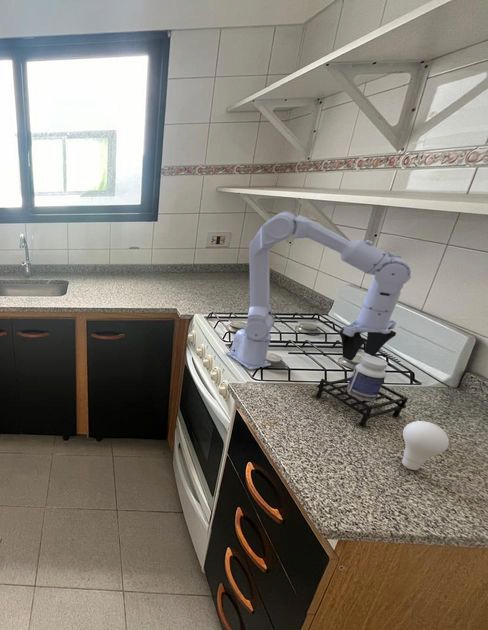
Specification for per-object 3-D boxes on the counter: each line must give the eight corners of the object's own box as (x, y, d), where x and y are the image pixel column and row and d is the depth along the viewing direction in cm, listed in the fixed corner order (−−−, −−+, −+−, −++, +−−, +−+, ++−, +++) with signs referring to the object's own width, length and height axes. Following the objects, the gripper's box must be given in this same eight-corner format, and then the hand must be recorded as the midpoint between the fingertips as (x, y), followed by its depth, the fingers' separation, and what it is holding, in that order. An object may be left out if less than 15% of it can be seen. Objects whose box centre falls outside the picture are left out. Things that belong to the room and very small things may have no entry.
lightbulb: (388, 451, 73) (408, 410, 68) (427, 466, 69) (452, 423, 65) (388, 469, 69) (410, 426, 64) (431, 486, 65) (457, 442, 61)
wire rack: (313, 395, 90) (319, 378, 88) (348, 387, 93) (354, 370, 91) (363, 428, 79) (372, 409, 77) (400, 417, 82) (410, 398, 80)
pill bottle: (381, 402, 82) (397, 366, 78) (357, 402, 82) (372, 366, 78) (363, 388, 87) (377, 353, 83) (340, 387, 87) (353, 353, 83)
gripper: (373, 317, 77) (352, 369, 83) (418, 310, 81) (395, 359, 87) (342, 306, 84) (325, 354, 89) (385, 299, 87) (366, 346, 93)
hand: (358, 356), depth 88 cm, fingers open, 7 cm apart
